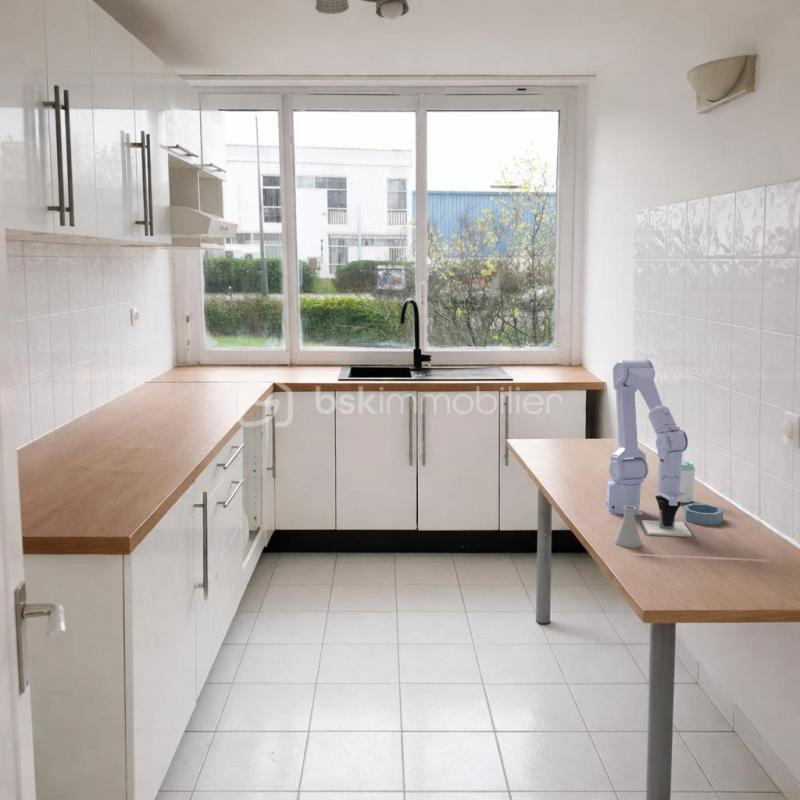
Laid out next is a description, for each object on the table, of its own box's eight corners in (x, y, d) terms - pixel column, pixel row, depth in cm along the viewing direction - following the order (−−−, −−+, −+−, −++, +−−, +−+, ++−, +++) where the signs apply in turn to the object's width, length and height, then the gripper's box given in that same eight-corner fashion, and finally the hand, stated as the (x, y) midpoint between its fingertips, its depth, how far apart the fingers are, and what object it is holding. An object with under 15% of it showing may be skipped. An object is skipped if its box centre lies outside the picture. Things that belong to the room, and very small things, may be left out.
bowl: (687, 525, 246) (688, 513, 245) (680, 514, 255) (681, 503, 255) (725, 527, 245) (726, 514, 244) (716, 516, 255) (717, 504, 254)
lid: (648, 534, 236) (649, 516, 235) (641, 522, 246) (642, 504, 245) (691, 536, 234) (692, 517, 234) (682, 524, 245) (683, 506, 244)
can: (683, 497, 274) (685, 459, 272) (697, 503, 268) (700, 464, 265) (663, 498, 272) (666, 460, 270) (677, 505, 265) (680, 465, 263)
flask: (640, 551, 224) (643, 512, 223) (611, 547, 227) (613, 509, 225) (643, 542, 231) (645, 505, 229) (614, 539, 234) (617, 502, 232)
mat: (645, 537, 235) (645, 535, 235) (637, 522, 248) (637, 521, 247) (696, 539, 233) (696, 538, 233) (685, 524, 246) (685, 523, 246)
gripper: (690, 482, 230) (687, 533, 233) (679, 469, 245) (676, 516, 247) (662, 481, 231) (659, 532, 233) (653, 468, 245) (650, 515, 248)
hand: (666, 524), depth 240 cm, fingers closed on lid, 2 cm apart
